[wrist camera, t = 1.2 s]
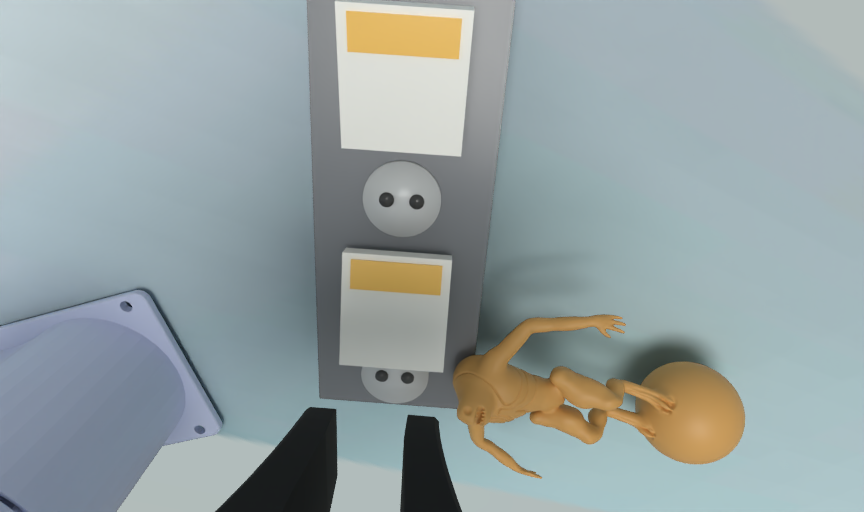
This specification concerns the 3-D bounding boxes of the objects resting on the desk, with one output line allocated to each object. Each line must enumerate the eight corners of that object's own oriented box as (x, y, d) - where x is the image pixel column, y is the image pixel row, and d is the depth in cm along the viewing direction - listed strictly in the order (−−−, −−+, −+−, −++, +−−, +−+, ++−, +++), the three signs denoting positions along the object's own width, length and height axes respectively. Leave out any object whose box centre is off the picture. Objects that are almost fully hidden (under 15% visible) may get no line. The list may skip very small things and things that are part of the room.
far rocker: (443, 358, 19) (443, 373, 18) (345, 350, 19) (338, 366, 18) (451, 252, 18) (452, 260, 17) (348, 244, 18) (341, 252, 17)
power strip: (466, 365, 23) (468, 414, 20) (335, 355, 24) (318, 402, 21) (506, -4, 17) (517, -11, 14) (329, -16, 17) (303, -26, 15)
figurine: (704, 506, 22) (473, 593, 17) (613, 402, 27) (405, 442, 21) (823, 365, 19) (574, 414, 13) (693, 270, 23) (463, 275, 17)
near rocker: (461, 142, 16) (460, 157, 15) (348, 134, 17) (340, 149, 15) (473, 3, 14) (474, 11, 13) (343, -5, 14) (333, 1, 13)
